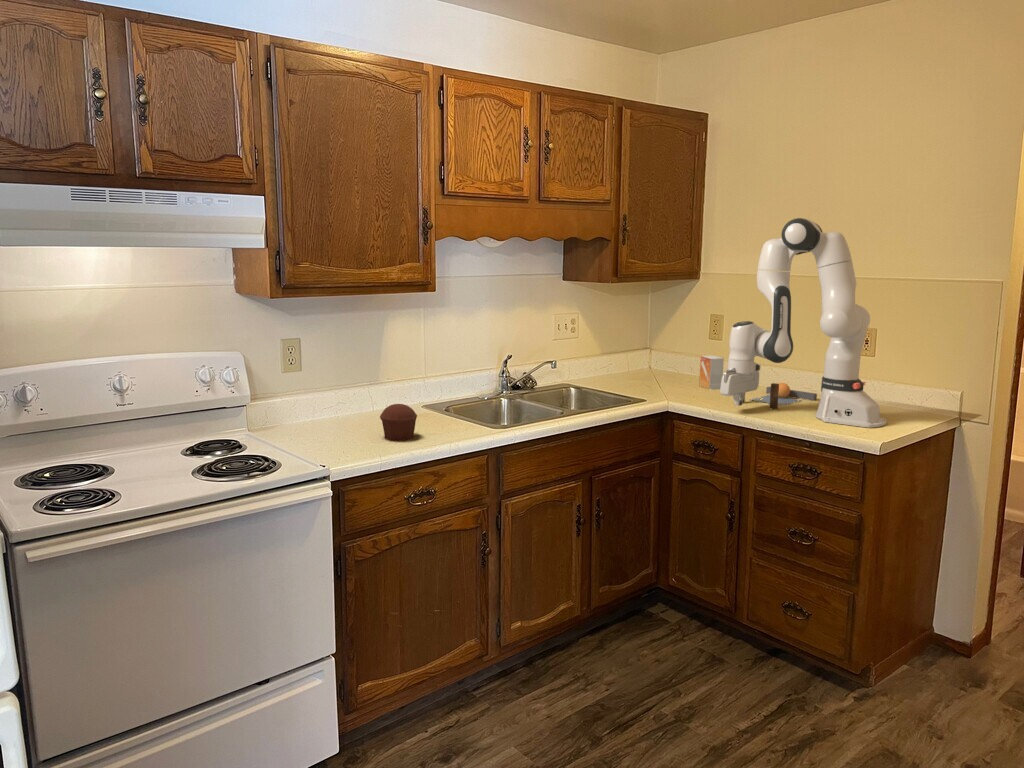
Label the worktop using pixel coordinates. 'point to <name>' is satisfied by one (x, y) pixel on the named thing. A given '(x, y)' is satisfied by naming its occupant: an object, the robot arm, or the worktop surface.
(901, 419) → the worktop surface
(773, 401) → the post
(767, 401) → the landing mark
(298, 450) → the worktop surface
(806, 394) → the wall
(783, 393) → the ball
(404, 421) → the muffin
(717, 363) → the small box
